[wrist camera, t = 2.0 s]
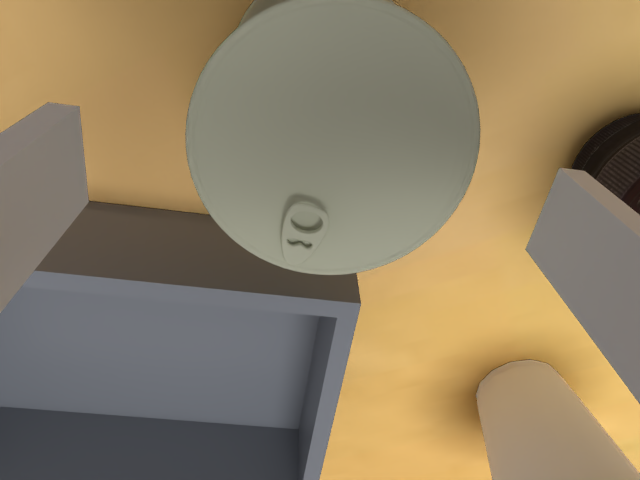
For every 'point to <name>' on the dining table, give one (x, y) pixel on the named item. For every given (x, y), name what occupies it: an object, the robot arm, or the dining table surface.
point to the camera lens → (615, 159)
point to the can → (332, 133)
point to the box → (169, 356)
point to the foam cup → (544, 428)
